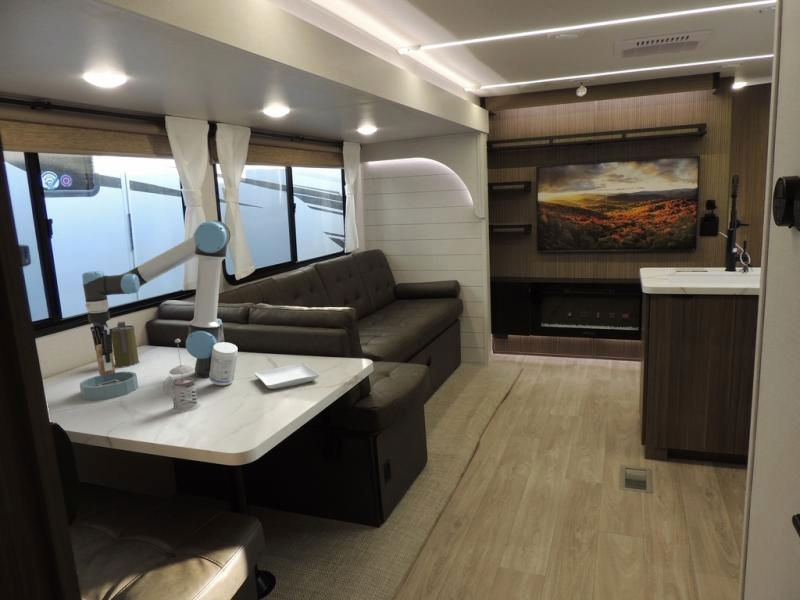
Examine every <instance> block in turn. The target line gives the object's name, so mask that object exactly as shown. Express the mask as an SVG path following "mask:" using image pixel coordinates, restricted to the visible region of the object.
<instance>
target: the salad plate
mask: <svg viewBox="0 0 800 600" xmlns="http://www.w3.org/2000/svg"><path fill="white" fill-rule="evenodd" d="M254 376H255V377H256V378H258V379H259V380H260V382H262V383H263V384H264V385H265V386H266V388H269V389H270V390H271V389H272V390H273V389H275V390H277V389H282V388H287V387H288V388H289V387H293V386H297V385H303V384H307V383H309V382H311V381H314V380H316V379H318V378H319V376H320V373H319V372H318V371H315V370H314V369H313V368H311V367H310V366H309V365H307V364H306V363H299V364H298V363H297V364H294V365H293V364H291V365H287V366H280V367H275V368H270V369H266V370H261V371H257V372H254Z"/></svg>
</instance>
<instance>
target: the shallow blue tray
mask: <svg viewBox="0 0 800 600" xmlns="http://www.w3.org/2000/svg"><path fill="white" fill-rule="evenodd" d="M138 388H139V382H138V377H137V374H136V372H133V371H115V373H112V374H108V375H104V376H101V375H99V374H98V375H94V376H91V377H88V378H86V379H84V380H82V381H80V382H79V389H80V394H81V399H83V398H84V399H83V400H87V401H100V400H101V401H102V400H108V399H115V398H118V397H121V396H122V397H123V396H126V395H129V394H130V393H133V392H134V391H136V390H137V389H138Z"/></svg>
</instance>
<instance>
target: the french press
mask: <svg viewBox="0 0 800 600" xmlns="http://www.w3.org/2000/svg"><path fill="white" fill-rule="evenodd" d="M174 343H175V344H176V343H177V344H179V343H181V339H180V338H176V339H175V340H174ZM177 349H178V351H180V346H179V345H177ZM178 357H179V359H181V354H180V352H178ZM179 364H180V365H177V366H174V367H173V368H172V369H170V370H169V371H168V372H169V374H170V375H181V378H178V379H176V380H174V378H173V377H172V376H168V377H167V378H165V380H164V382H163V386H162V388H163V392H164V394H165V396H168V397H170V398H172V403H173V407H172V408H171V411H172V413H187V412H192V411H195V410H197V409H199V408H200V407H201V406H202V405H201V403H199V402H198V397H197V390H196V383H195V382H194V378H193V377H192V378H191V377H185V378H184V377H183V374H188V373H190V372H193V371H194V370H195V367H193V366H190V365H187V364H182V361H181V360H179ZM169 380H170V381H171V383H172V386H171V391H172V395H170V394H169V393H168V391H167V384H168V382H169Z"/></svg>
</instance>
